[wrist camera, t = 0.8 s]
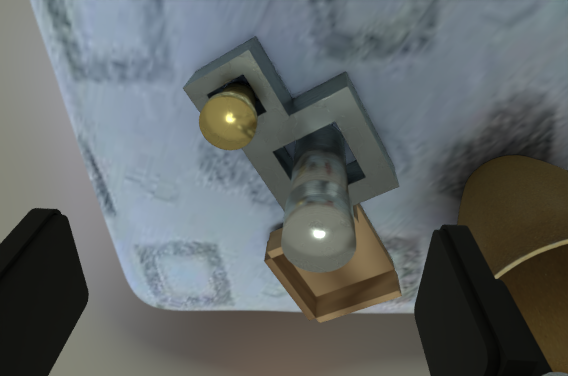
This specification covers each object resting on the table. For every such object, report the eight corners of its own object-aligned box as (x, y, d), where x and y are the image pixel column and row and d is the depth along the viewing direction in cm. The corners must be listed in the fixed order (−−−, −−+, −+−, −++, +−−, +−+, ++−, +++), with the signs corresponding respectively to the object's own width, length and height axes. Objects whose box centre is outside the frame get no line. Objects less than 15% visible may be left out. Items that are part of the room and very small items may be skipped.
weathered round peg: (331, 111, 39) (335, 202, 27) (355, 155, 41) (368, 257, 29) (283, 135, 40) (267, 231, 29) (308, 176, 42) (303, 281, 31)
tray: (352, 191, 43) (354, 216, 39) (395, 266, 47) (401, 295, 44) (264, 228, 46) (259, 255, 42) (313, 295, 51) (312, 325, 47)
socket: (311, 3, 34) (309, 14, 31) (393, 166, 41) (400, 189, 38) (195, 71, 38) (182, 88, 34) (289, 211, 45) (286, 236, 41)
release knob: (246, 65, 34) (235, 86, 30) (273, 109, 36) (266, 135, 32) (203, 89, 35) (187, 113, 31) (231, 131, 37) (220, 158, 33)
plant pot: (472, 91, 37) (557, 198, 24) (628, 148, 39) (793, 279, 25) (392, 227, 45) (422, 365, 31) (525, 269, 46) (608, 419, 33)
